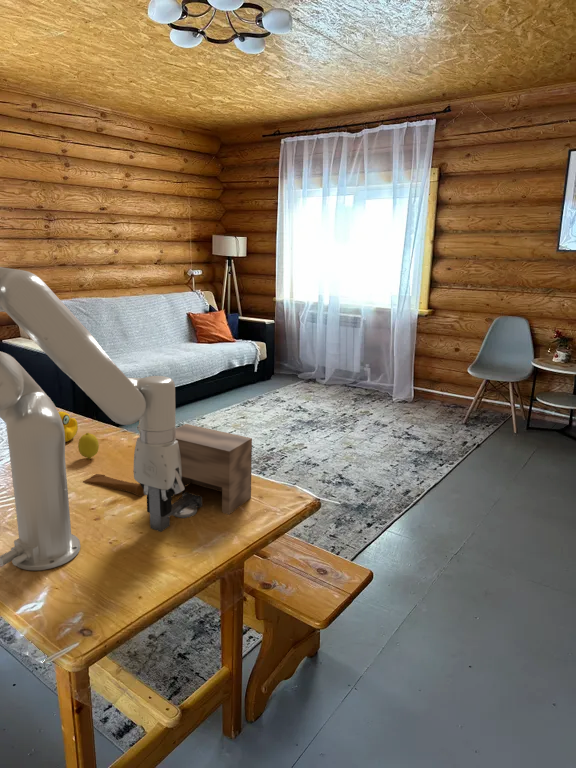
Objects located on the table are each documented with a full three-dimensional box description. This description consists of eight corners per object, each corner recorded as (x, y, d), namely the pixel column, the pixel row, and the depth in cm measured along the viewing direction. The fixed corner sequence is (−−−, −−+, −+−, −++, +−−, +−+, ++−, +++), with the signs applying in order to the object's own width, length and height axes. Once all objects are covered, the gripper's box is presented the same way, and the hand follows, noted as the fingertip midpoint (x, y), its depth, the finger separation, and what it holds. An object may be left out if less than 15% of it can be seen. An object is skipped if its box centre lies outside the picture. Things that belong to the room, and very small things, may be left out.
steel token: (186, 520, 122) (186, 514, 122) (166, 514, 125) (165, 508, 125) (202, 510, 127) (202, 503, 127) (182, 503, 130) (182, 497, 130)
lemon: (101, 460, 154) (100, 434, 152) (81, 463, 151) (80, 437, 149) (96, 453, 158) (94, 428, 156) (77, 457, 155) (75, 431, 153)
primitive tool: (81, 483, 140) (80, 471, 139) (97, 475, 145) (96, 463, 144) (139, 500, 132) (138, 487, 131) (153, 491, 137) (153, 478, 136)
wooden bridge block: (229, 514, 126) (229, 451, 121) (162, 494, 134) (160, 435, 130) (251, 497, 134) (251, 438, 130) (187, 480, 143) (186, 423, 139)
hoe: (164, 533, 117) (162, 483, 113) (146, 527, 119) (144, 478, 116) (202, 505, 129) (201, 460, 126) (185, 500, 131) (184, 455, 128)
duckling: (59, 449, 161) (56, 417, 158) (44, 446, 162) (41, 415, 160) (83, 436, 172) (81, 407, 169) (69, 434, 173) (66, 405, 170)
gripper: (116, 432, 114) (119, 509, 118) (177, 447, 107) (178, 529, 111) (140, 422, 120) (142, 496, 125) (199, 436, 113) (199, 514, 118)
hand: (159, 511), depth 118 cm, fingers closed on hoe, 3 cm apart
